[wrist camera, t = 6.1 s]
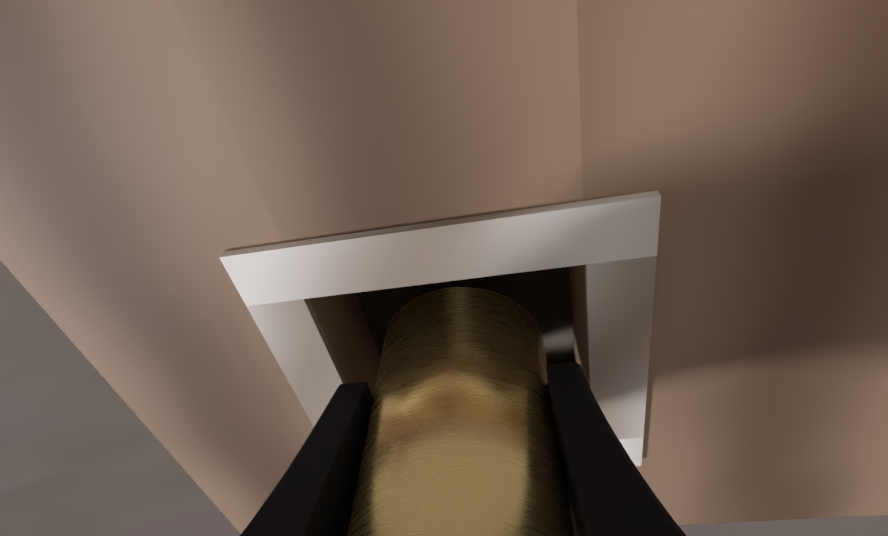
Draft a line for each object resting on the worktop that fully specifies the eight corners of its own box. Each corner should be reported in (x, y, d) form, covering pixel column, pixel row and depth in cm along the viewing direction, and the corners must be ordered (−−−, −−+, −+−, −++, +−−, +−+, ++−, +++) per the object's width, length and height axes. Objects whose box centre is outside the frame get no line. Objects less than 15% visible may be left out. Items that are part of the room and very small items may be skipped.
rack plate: (1542, -737, 5) (2324, -1192, 3) (890, 437, 17) (951, 518, 15) (-196, -182, 8) (-429, -205, 6) (272, 479, 20) (248, 551, 18)
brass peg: (545, 283, 11) (598, 567, 7) (541, 396, 14) (579, 667, 9) (371, 291, 12) (304, 567, 7) (397, 401, 14) (360, 662, 9)
